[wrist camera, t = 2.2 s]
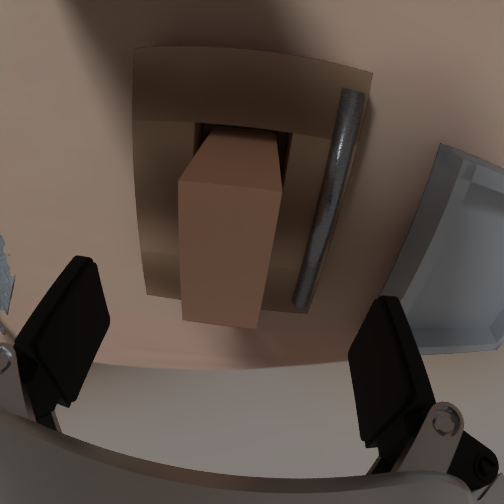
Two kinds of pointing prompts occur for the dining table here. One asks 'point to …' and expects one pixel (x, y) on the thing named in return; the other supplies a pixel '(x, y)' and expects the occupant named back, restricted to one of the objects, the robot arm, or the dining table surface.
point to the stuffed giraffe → (4, 281)
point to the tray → (455, 258)
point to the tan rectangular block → (228, 226)
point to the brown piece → (256, 116)
